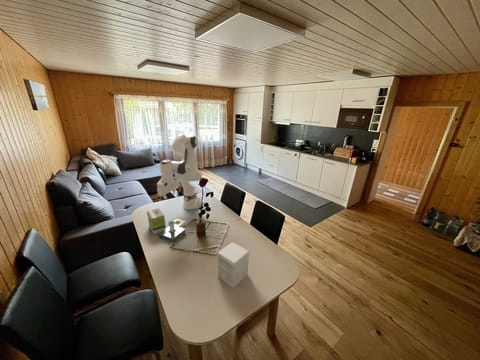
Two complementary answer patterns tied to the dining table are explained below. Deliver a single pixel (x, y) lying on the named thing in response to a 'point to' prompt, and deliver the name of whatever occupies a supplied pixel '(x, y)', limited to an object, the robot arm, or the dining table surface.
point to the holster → (179, 223)
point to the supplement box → (233, 264)
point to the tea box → (156, 220)
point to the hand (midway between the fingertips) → (169, 196)
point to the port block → (172, 237)
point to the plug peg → (171, 227)
